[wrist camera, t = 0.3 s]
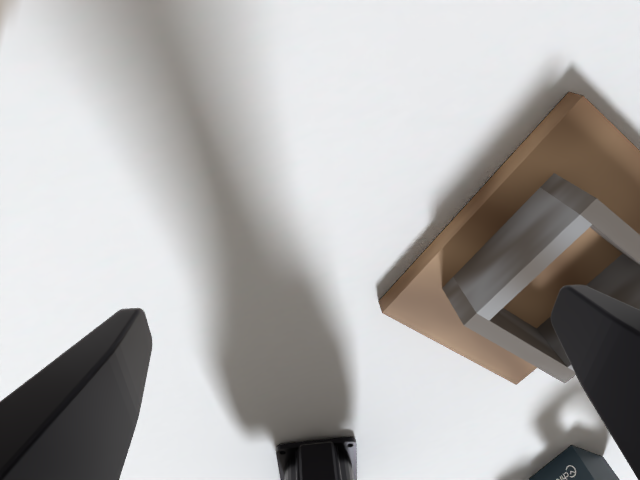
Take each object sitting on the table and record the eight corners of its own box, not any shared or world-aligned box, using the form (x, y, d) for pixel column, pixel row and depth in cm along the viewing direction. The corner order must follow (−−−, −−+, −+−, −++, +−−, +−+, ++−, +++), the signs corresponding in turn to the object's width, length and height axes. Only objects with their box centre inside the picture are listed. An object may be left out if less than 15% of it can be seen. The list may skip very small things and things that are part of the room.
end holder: (508, 372, 32) (542, 426, 28) (378, 301, 27) (395, 352, 23) (695, 213, 26) (773, 251, 22) (568, 91, 22) (635, 110, 17)
